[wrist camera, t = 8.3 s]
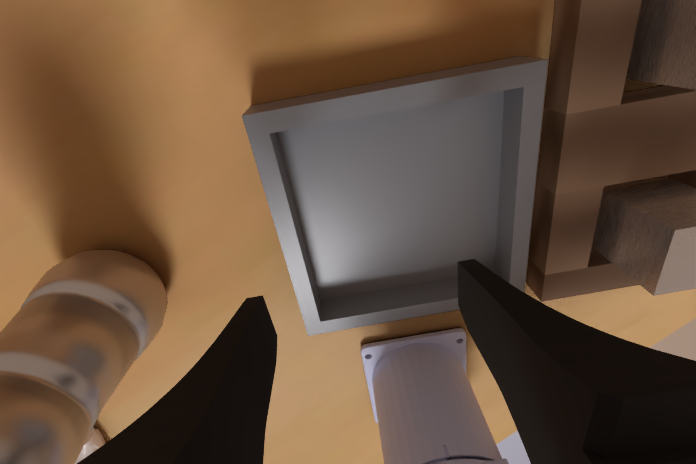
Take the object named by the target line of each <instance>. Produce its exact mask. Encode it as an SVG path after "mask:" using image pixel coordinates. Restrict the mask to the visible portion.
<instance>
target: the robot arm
mask: <svg viewBox="0 0 696 464" xmlns="http://www.w3.org/2000/svg"><path fill="white" fill-rule="evenodd" d="M457 264H458V306H459V308H460V311H461V314H462V316H463V319H464V321H465V324H466V326H467V329H468V331H469V333H470V335H471V336H472V338H473V340H474V342H475V344H476V346H477V347H478V349H479V351H480V353H481V355H482V357H483V358H484V360H485V362H486V364H487V366H488V367H489V369H490V371H491V373H492V375H493V377H494V378H495V380H496V382H497V384H498V386H499V388H500V390H501V392H502V394H503V396H504V399H505V401H506V404H507V406H508V408H509V411H510V413H511V415H512V418H513V420H514V422H515V425H516V427H517V430H518V432H519V434H520V437H521V440H522V442H523V444H524V447H525V449H526V452H527V454H528V457H529V460H530V462H531V464H696V361H694V360H690V359H686V358H683V357H679V356H676V355H672V354H668V353H665V352H661V351H657V350H654V349H651V348H648V347H645V346H642V345H639V344H636V343H633V342H630V341H627V340H624V339H621V338H618V337H615V336H613V335H610V334H607V333H605V332H602V331H600V330H598V329H595V328H593V327H590V326H588V325H585V324H583V323H581V322H579V321H576V320H574V319H572V318H570V317H568V316H566V315H564V314H562V313H560V312H558V311H556V310H554V309H552V308H550V307H548V306H546V305H544V304H543V303H541V302H539V301H537V300H536V299H534V298H532V297H531V296H529V295H527V294H526V293H524V292H522V291H521V290H519V289H518V288H516V287H514V286H513V285H511V284H510V283H508V282H507V281H505V280H504V279H502V278H501V277H500V276H498V275H497V274H495V273H494V272H492V271H491V270H489V269H488V268H487V267H485V266H484V265H482V264H481V263H480V262H478V261H477V260H475V259H470V260H464V261H459V262H457ZM458 339H459V340H458ZM367 354H370V355H367ZM276 356H277V334H276V331H275V328H274V326H273V323H272V320H271V317H270V315H269V312H268V309H267V306H266V303H265V301H264V298H263V296H257V297H252V298H246V300H245V301H244V302H243V304H242V305H241V306H240V308H239V309H238V311H237V312H236V313H235V315H234V316H233V317H232V319H231V320H230V322H229V323H228V324H227V326H226V327H225V328H224V330H223V331H222V332H221V334H220V335H219V336H218V338H217V339H216V340H215V342H214V343H213V344H212V345H211V346H210V348H209V349H208V350H207V351H206V352H205V354H204V355H203V356H202V357H201V358H200V360H199V361H198V362H197V363H196V364H195V365H194V367H193V368H192V369H191V370H190V371H189V372H188V373H187V374H186V375H185V376H184V377H183V378H182V379H181V380H180V381H179V382H178V383H177V384H176V385H175V386H174V387H173V388H172V389H171V390H170V391H169V392H168V393H167V394H166V395H164V396H163V397H162V398H161V399H160V400H159V401H158V402H157V403H156V404H155V405H153V406H152V407H151V408H150V409H149V410H148V411H147V412H145V413H144V414H143V415H142V416H141V417H139V418H138V419H137V420H136V421H135V422H133V423H132V424H131V425H130V426H128V427H127V428H126V429H124V430H123V431H122V432H120V433H119V434H118V435H117V436H115V437H114V438H113V439H111V440H110V441H109V442H107V443H106V444H104V445H103V446H101V447H100V448H99V449H97V450H96V451H94V452H93V453H91V454H90V455H89V456H87V457H86V458H84V459H83V460H81V461H80V462H78V463H77V464H263V455H264V440H265V429H266V421H267V415H268V409H269V403H270V397H271V391H272V385H273V379H274V373H275V366H276ZM361 356H362V360H363V365H364V370H365V375H366V380H367V385H368V389H369V394H370V399H371V404H372V409H373V414H374V418H375V422H377V423H378V425H379V431H380V438H381V445H382V451H383V458H384V464H509V463H508V461H507V459H502V457H501V455H500V453H499V450H498V448H497V446H496V443H495V441H494V439H493V436H492V434H491V432H490V429H489V427H488V425H487V422H486V420H485V418H484V415H483V413H482V411H481V408H480V406H479V404H478V401H477V399H476V397H475V394H474V392H473V390H472V387H471V385H470V383H469V380H468V378H467V375H466V332H465V330H464V329H462V328H456V329H450V330H445V331H439V332H433V333H427V334H421V335H415V336H409V337H404V338H398V339H392V340H386V341H380V342H374V343H369V344H364V345H363V346H361Z"/></svg>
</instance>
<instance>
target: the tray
mask: <svg viewBox="0 0 696 464" xmlns="http://www.w3.org/2000/svg"><path fill="white" fill-rule="evenodd" d="M547 64H548V59H541V58H533V57H525V56H518V57H512V58H507V59H502V60H496V61H491V62H485V63H480V64H475V65H469V66H464V67H458V68H453V69H448V70H442V71H437V72H431V73H426V74H420V75H415V76H410V77H404V78H399V79H393V80H388V81H383V82H377V83H372V84H366V85H361V86H355V87H350V88H345V89H339V90H334V91H328V92H323V93H318V94H312V95H307V96H301V97H296V98H291V99H285V100H280V101H274V102H269V103H263V104H258V105H253V106H250V107H249V109H248V110H247V111H246V112H245V113H244V114H243V115H242V118H243V121H244V124H245V128H246V131H247V134H248V138H249V141H250V144H251V148H252V151H253V154H254V158H255V161H256V164H257V168H258V171H259V174H260V178H261V181H262V184H263V187H264V191H265V194H266V197H267V201H268V204H269V207H270V211H271V214H272V217H273V221H274V224H275V227H276V231H277V234H278V237H279V241H280V244H281V247H282V251H283V254H284V257H285V261H286V264H287V267H288V271H289V274H290V277H291V281H292V284H293V287H294V291H295V294H296V297H297V300H298V304H299V307H300V310H301V314H302V317H303V320H304V324H305V327H306V330H307V334H308V336H310V335H316V334H322V333H327V332H333V331H339V330H345V329H351V328H356V327H362V326H368V325H374V324H380V323H386V322H391V321H397V320H403V319H409V318H415V317H420V316H426V315H432V314H438V313H444V312H449V311H455V310H460V308H459V306H458V264H457V262H459V261H464V260H470V259H475V260H477V261H478V262H480V263H481V264H482V265H484V266H485V267H487V268H488V269H489V270H491V271H492V272H494V273H495V274H497V275H498V276H500V277H501V278H502V279H504V280H505V281H507V282H508V283H510V284H511V285H513V286H514V287H516V288H518V289H519V290H521V291H522V292H524V291H525V281H526V271H527V261H528V251H529V242H530V232H531V222H532V212H533V202H534V192H535V182H536V173H537V163H538V153H539V143H540V133H541V123H542V113H543V103H544V94H545V84H546V74H547Z"/></svg>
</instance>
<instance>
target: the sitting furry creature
mask: <svg viewBox="0 0 696 464" xmlns="http://www.w3.org/2000/svg"><path fill="white" fill-rule="evenodd" d="M104 444H106V442H105V440H104V438H103V436H102V433H101V432H100V431H99V429H96V428H94V427H93V428H92V430H91V431H90V432H89V436H88V438H87V440H86V442H85V444H84V446H83V448H82V450H81V452H80V454H79V456H78V458H77V460H76V462H75V464H77V463H78V462H80V461H81V460H83V459H84V458H86V457H87V456H89V455H90V454H91V453H93V452H94V451H96V450H97V449H99V448H100V447H101V446H103V445H104Z"/></svg>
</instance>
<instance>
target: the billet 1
mask: <svg viewBox="0 0 696 464" xmlns="http://www.w3.org/2000/svg"><path fill="white" fill-rule="evenodd" d="M626 79H630V80H636V81H642V82H649V83H655V84H662V85H668V86H674V87H681V88H687V89H693V90H696V0H642V1H641V6H640V11H639V16H638V21H637V26H636V31H635V36H634V41H633V45H632V50H631V55H630V60H629V65H628V70H627V75H626Z"/></svg>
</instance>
